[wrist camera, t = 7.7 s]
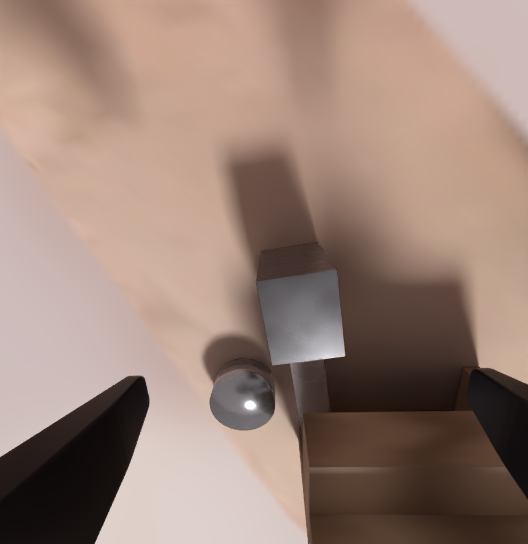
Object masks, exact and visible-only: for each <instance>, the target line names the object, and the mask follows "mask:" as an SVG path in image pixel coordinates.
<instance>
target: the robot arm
mask: <svg viewBox="0 0 528 544" xmlns="http://www.w3.org/2000/svg"><path fill="white" fill-rule="evenodd" d="M466 398H467V401H468V403H469V405H470V407H471V409H472V411H473V412H474V414H475V416H476V418H477V419H478V421H479V423H480V425H481V426H482V428H483V430H484V432H485V433H486V435H487V437H488V439H489V440H490V442H491V444H492V446H493V447H494V449H495V451H496V453H497V454H498V456H499V458H500V459H501V461H502V463H503V464H504V466H505V467H506V469H507V470H508V472H509V473H510V475H511V476H512V478H513V479H514V480H515V482H516V483H517V485H518V486H519V488H520V489H521V491H522V492H523V494H524V495H525V497H526V498H527V499H528V384H525V383H523V382H521V381H518V380H516V379H514V378H512V377H509V376H507V375H505V374H503V373H500V372H498V371H496V370H494V369H491V368H475V369H473V370H472V371H471V372H470V376H469V381H468V386H467V390H466ZM148 408H149V395H148V390H147V386H146V382H145V378H144V377H143V376H128V377H126V378H124V379H123V380H121V381H120V382H118V383H117V384H115V385H113V386H112V387H110V388H108V389H107V390H105V391H104V392H102V393H101V394H99V395H97V396H96V397H94V398H93V399H91V400H90V401H88V402H87V403H85V404H83V405H82V406H80V407H79V408H77V409H75V410H74V411H72V412H71V413H69V414H67V415H66V416H64V417H63V418H61V419H60V420H58V421H56V422H55V423H53V424H52V425H50V426H49V427H47V428H45V429H44V430H42V431H41V432H39V433H38V434H36V435H34V436H33V437H31V438H30V439H28V440H27V441H25V442H23V443H22V444H20V445H19V446H17V447H15V448H14V449H12V450H11V451H9V452H8V453H6V454H4V455H3V456H1V457H0V544H95V542H96V539H97V537H98V535H99V532H100V530H101V528H102V526H103V524H104V521H105V519H106V517H107V514H108V512H109V510H110V508H111V506H112V503H113V501H114V499H115V497H116V494H117V492H118V490H119V487H120V485H121V483H122V480H123V478H124V476H125V474H126V471H127V469H128V467H129V464H130V461H131V459H132V456H133V453H134V449H135V447H136V444H137V441H138V438H139V435H140V432H141V429H142V426H143V423H144V420H145V417H146V414H147V411H148Z"/></svg>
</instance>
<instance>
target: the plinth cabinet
mask: <svg viewBox="0 0 528 544" xmlns="http://www.w3.org/2000/svg"><path fill="white" fill-rule="evenodd" d="M475 368H480V367H463V371H462V376H461V381H460V385H459V390H458V395H457V400H456V405H455V410H454V411H420V412H336V413H303V438H302V432H301V430H298V441H299V451H300V462H301V473H302V483H303V494H304V505H305V515H306V526H307V537H308V544H528V499H527V498H526V497H525V495H524V494H523V492H522V491H521V489H520V488H519V486H518V485H517V483H516V482H515V480H514V479H513V478H512V476H511V475H510V473H509V472H508V470H507V469H506V467H505V466H504V464H503V463H502V461H501V459H500V458H499V456H498V454H497V453H496V451H495V449H494V447H493V446H492V444H491V442H490V440H489V439H488V437H487V435H486V433H485V432H484V430H483V428H482V426H481V425H480V423H479V421H478V419H477V418H476V416H475V414H474V412H473V411H472V409H471V407H470V405H469V403H468V401H467V398H466V390H467V386H468V381H469V376H470V372H471V371H472V370H473V369H475Z"/></svg>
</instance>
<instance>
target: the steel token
mask: <svg viewBox="0 0 528 544" xmlns="http://www.w3.org/2000/svg"><path fill="white" fill-rule="evenodd" d="M210 408H211V411H212V413H213V415H214V417H215V418H216V419H217V420H218V421H219V422H220V423H222V424H223V425H225V426H227V427H229V428H232V429H236V430H253V429H256V428H259V427H261V426H263V425H264V424H266V423H267V422H268V421H269V420H270V419H271V417H272V416H273V414H274V410H275V380H274V377H273V375H272V373H271V371H270V370H269V369H268V368H267V367H266V366H265V365H263V364H262V363H260V362H258V361H255V360H251V359H237V360H233V361H230V362H228V363H227V364H225V365H224V366H223V367H222V368H221V369H220V370H219V372H218V374H217V376H216V380H215V383H214V387H213V390H212V394H211V397H210Z"/></svg>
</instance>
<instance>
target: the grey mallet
mask: <svg viewBox="0 0 528 544" xmlns="http://www.w3.org/2000/svg"><path fill="white" fill-rule="evenodd" d="M256 284H257V289H258V294H259V300H260V305H261V310H262V315H263V320H264V325H265V331H266V336H267V341H268V346H269V351H270V356H271V362H272V365H280V364H288V363H290V367H291V373H292V379H293V385H294V391H295V397H296V402H297V408H298V414H299V420H300V426H301V432H302V438H303V413H330V405H329V397H328V389H327V381H326V373H325V365H324V359H328V358H336V357H344V356H345V349H344V338H343V328H342V318H341V308H340V298H339V287H338V277H337V269H336V268H335V266H334V265H333V263H332V262H331V260H330V259H329V258H328V256H327V255H326V253H325V252H324V250H323V249H322V248H321V246H320V245H319V243H318V242H315V243H309V244H303V245H297V246H290V247H284V248H278V249H272V250H266V251H261V256H260V262H259V267H258V273H257V279H256Z"/></svg>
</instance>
